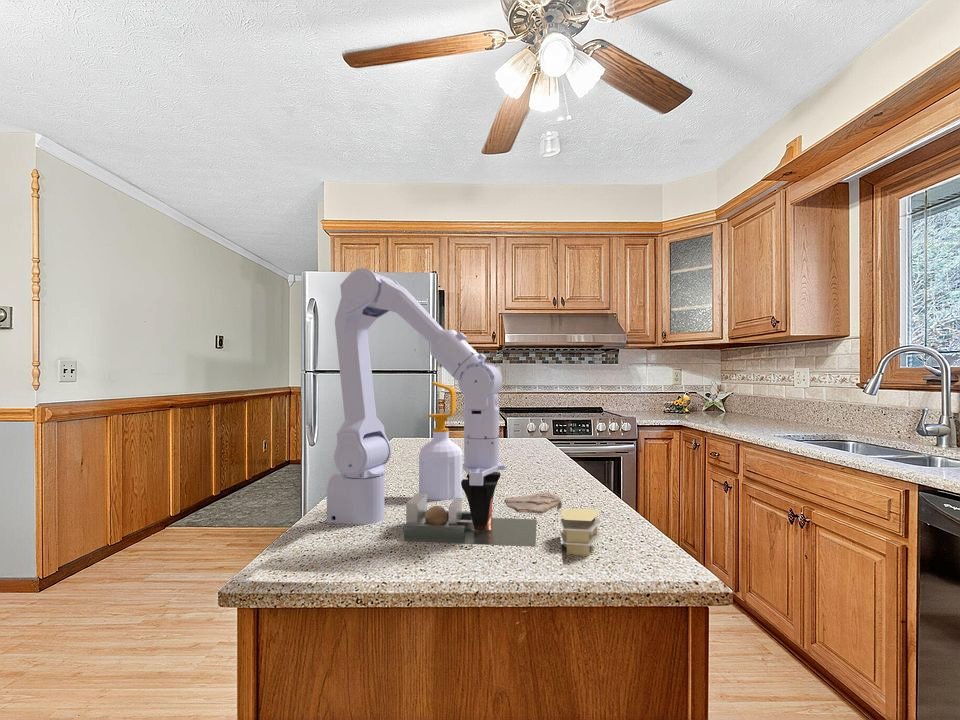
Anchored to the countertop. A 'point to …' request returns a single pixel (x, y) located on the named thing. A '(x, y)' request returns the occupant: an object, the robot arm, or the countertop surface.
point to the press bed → (500, 534)
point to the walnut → (436, 516)
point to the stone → (534, 503)
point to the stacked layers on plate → (579, 530)
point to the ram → (456, 514)
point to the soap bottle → (441, 459)
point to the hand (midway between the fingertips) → (481, 521)
